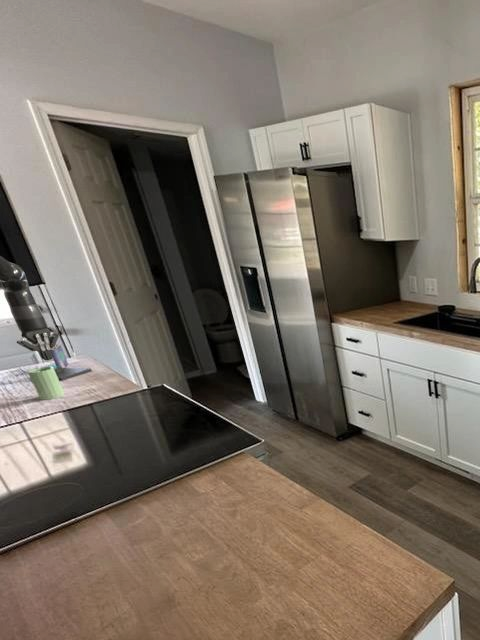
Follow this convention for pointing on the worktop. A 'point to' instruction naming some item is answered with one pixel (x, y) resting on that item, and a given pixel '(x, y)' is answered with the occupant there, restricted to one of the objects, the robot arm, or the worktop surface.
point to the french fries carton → (59, 356)
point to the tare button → (52, 366)
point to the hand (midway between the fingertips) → (48, 359)
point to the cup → (46, 383)
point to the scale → (70, 372)
